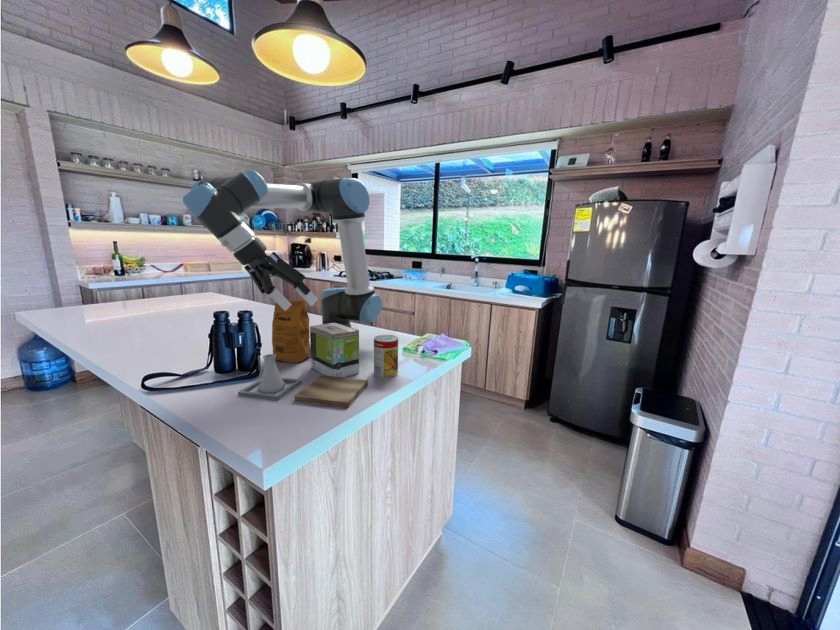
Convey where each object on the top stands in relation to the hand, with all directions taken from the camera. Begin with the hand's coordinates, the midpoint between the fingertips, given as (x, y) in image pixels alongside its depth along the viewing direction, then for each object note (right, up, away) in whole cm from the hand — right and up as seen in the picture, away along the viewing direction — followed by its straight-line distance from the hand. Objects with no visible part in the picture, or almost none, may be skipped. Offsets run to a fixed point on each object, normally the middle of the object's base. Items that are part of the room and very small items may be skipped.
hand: (300, 305), depth 94 cm
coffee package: (-13, -19, +26) cm, 34 cm away
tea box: (+6, -21, +16) cm, 27 cm away
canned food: (+23, -22, +14) cm, 35 cm away
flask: (-8, -24, 0) cm, 25 cm away
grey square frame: (-8, -24, 0) cm, 25 cm away
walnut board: (+10, -25, -1) cm, 26 cm away
